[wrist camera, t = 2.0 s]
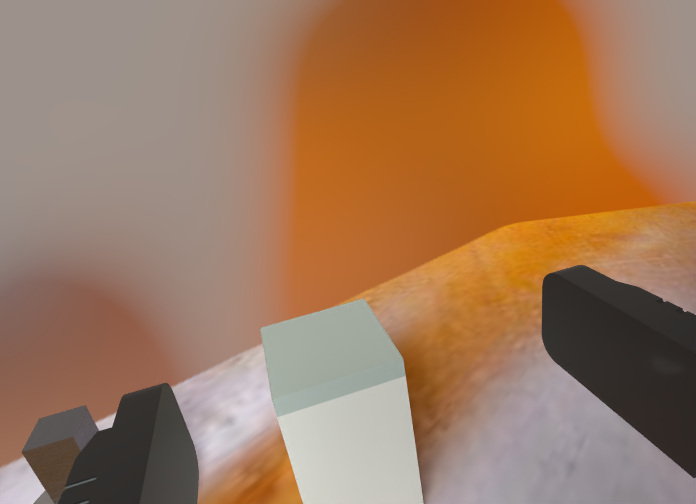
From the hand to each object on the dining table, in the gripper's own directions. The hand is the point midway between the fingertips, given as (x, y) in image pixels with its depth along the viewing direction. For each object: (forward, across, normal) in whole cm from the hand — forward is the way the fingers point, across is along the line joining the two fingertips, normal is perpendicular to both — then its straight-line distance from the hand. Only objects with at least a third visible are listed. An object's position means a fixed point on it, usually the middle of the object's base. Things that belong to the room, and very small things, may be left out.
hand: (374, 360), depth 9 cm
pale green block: (+12, 0, +17) cm, 20 cm away
